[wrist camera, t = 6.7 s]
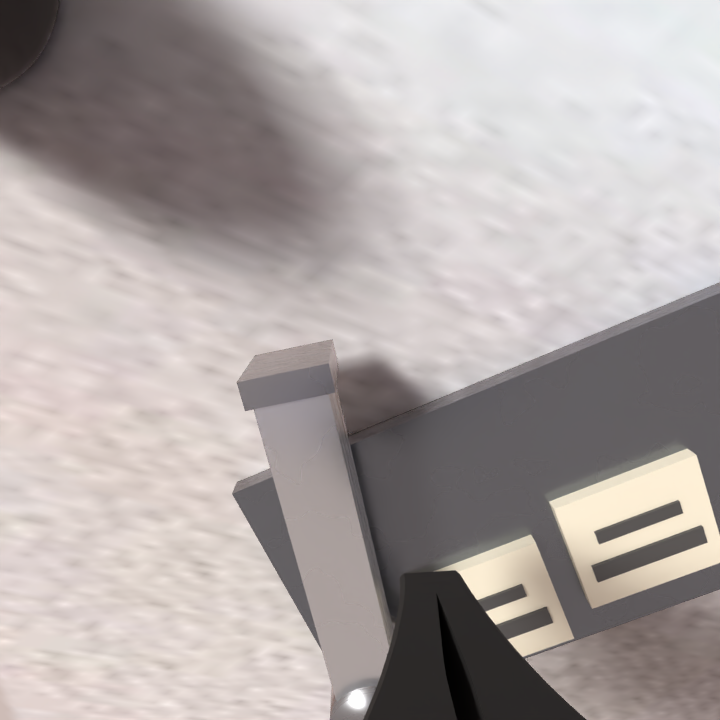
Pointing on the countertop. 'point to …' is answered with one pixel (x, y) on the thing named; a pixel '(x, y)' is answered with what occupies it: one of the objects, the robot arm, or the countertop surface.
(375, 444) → the dark gray base board
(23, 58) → the supplement bottle
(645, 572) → the label plate
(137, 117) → the countertop surface
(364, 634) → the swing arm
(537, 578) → the label plate
